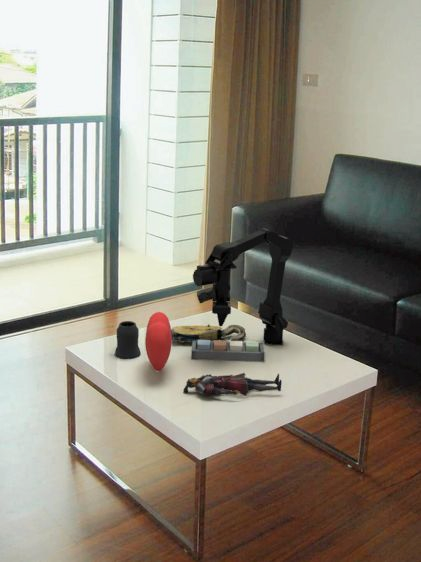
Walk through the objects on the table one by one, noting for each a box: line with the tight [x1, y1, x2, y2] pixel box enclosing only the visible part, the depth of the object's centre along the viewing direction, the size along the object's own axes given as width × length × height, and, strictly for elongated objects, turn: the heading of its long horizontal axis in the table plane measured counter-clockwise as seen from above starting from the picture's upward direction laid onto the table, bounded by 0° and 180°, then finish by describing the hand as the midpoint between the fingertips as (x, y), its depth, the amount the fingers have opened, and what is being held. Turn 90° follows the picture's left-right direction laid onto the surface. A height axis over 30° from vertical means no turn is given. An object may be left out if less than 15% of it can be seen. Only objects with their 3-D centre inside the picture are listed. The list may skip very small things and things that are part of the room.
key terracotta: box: [214, 339, 227, 351], centre depth 258 cm, size 4×4×2 cm
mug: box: [114, 320, 142, 360], centre depth 257 cm, size 12×9×11 cm
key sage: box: [245, 341, 259, 352], centre depth 258 cm, size 4×4×2 cm
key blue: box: [197, 340, 210, 350], centre depth 258 cm, size 4×4×2 cm
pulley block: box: [171, 323, 247, 344], centre depth 272 cm, size 14×6×30 cm
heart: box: [144, 311, 173, 373], centre depth 241 cm, size 20×9×19 cm, turn 3°
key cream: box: [229, 340, 243, 351], centre depth 258 cm, size 4×4×2 cm
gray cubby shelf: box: [190, 340, 266, 363], centre depth 259 cm, size 25×10×3 cm, turn 89°
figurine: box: [183, 372, 283, 397], centre depth 230 cm, size 13×6×30 cm
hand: (220, 324), depth 256 cm, fingers closed
